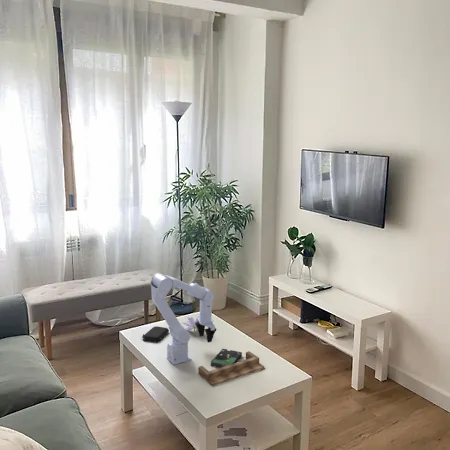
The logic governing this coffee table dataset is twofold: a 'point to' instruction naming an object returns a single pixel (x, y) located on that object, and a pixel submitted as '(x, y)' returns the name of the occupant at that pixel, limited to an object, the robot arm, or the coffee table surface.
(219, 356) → the disk drive
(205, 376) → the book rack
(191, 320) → the water lily
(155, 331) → the carrying case or bag
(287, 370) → the coffee table surface
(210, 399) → the coffee table surface
